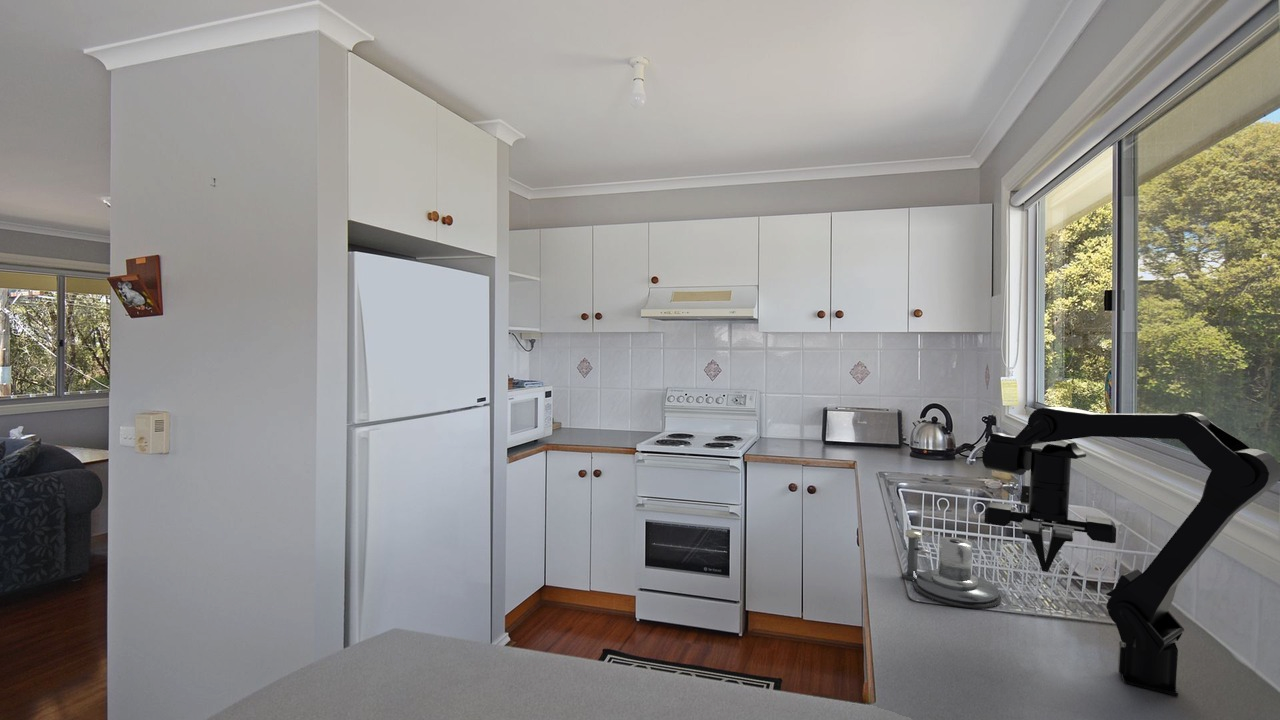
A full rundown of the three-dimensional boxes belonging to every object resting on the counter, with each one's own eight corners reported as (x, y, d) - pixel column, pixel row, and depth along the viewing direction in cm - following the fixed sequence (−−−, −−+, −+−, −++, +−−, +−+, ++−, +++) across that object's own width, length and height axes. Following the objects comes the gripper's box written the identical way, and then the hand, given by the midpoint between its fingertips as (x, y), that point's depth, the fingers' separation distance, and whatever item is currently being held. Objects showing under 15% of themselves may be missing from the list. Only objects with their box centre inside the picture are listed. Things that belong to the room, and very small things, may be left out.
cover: (979, 581, 135) (981, 539, 135) (975, 594, 128) (977, 550, 128) (934, 572, 140) (936, 532, 139) (928, 584, 132) (930, 542, 132)
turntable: (1003, 588, 136) (1004, 580, 136) (998, 615, 123) (998, 606, 123) (920, 572, 145) (921, 564, 145) (906, 595, 131) (907, 586, 131)
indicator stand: (900, 577, 141) (902, 531, 141) (908, 574, 143) (910, 528, 143) (924, 585, 137) (927, 537, 137) (932, 581, 139) (934, 534, 139)
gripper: (1113, 480, 114) (1108, 569, 114) (991, 466, 124) (987, 548, 124) (1119, 492, 104) (1113, 589, 105) (986, 476, 114) (982, 564, 115)
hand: (1045, 571), depth 113 cm, fingers closed
